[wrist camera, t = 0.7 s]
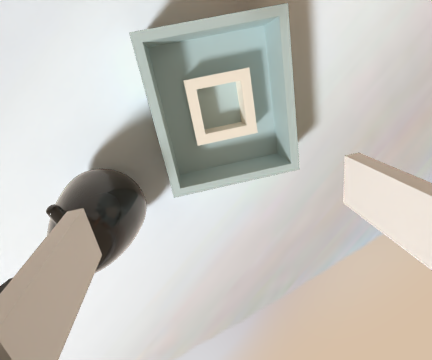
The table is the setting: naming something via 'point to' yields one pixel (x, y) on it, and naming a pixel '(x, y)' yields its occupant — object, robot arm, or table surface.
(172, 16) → the table surface
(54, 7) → the table surface
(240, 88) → the box
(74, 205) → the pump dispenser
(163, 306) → the table surface
